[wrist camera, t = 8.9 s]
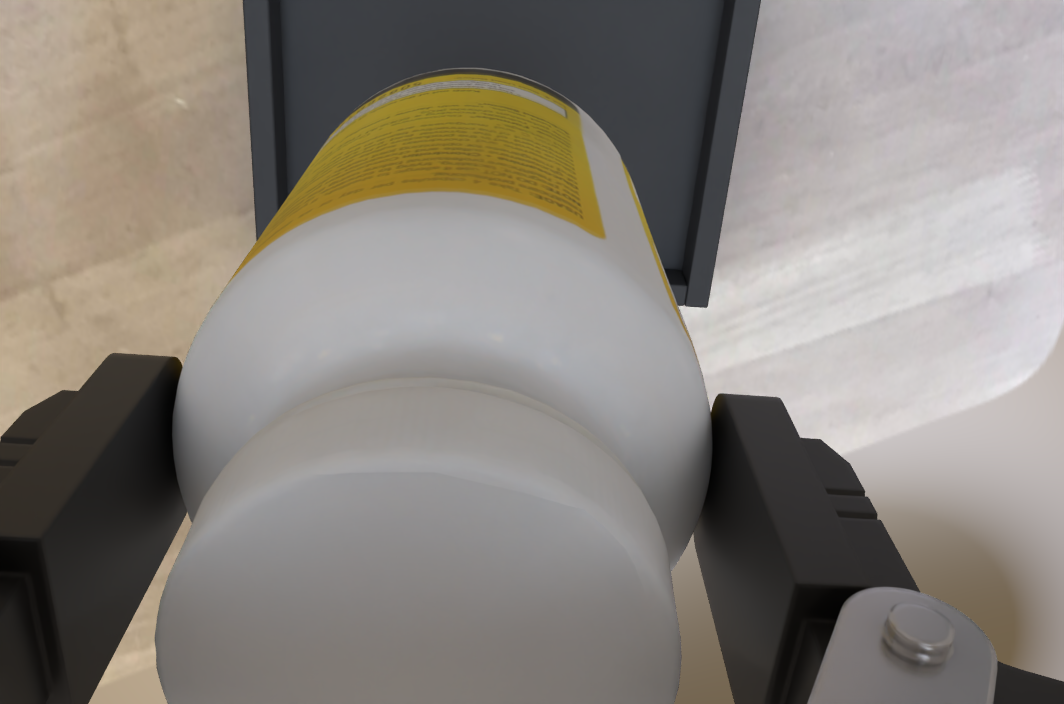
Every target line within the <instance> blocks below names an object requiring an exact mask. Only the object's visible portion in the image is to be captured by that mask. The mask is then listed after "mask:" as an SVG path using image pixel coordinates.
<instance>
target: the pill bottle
mask: <svg viewBox="0 0 1064 704" xmlns="http://www.w3.org/2000/svg"><path fill="white" fill-rule="evenodd" d="M172 442H173V456H174V463H175V469H176V475H177V480H178V484H179V488H180V491H181V495H182V498H183V501H184V503H185V506H186V509H187V512H188V514H189V517H190V520H191V522H192V525H191V528H190V530H189V532H188V535H187V537H186V539H185V542H184V544H183V546H182V548H181V550H180V552H179V554H178V557H177V559H176V561H175V563H174V565H173V567H172V570H171V572H170V574H169V576H168V579H167V582H166V585H165V588H164V591H163V594H162V597H161V600H160V606H159V611H158V616H157V624H156V631H155V646H156V662H157V671H158V675H159V678H160V682H161V686H162V689H163V692H164V694H165V697H166V700H167V703H168V704H674V702H675V698H676V695H677V691H678V688H679V679H680V669H681V637H680V631H679V624H678V618H677V612H676V605H675V599H674V592H673V584H672V577H671V571H672V569H673V568H674V567H675V565H676V564H677V562H678V560H679V559H680V557H681V555H682V554H683V552H684V550H685V549H686V546H687V544H688V542H689V540H690V538H691V536H692V534H693V532H694V529H695V527H696V525H697V523H698V520H699V517H700V514H701V511H702V507H703V504H704V501H705V497H706V494H707V490H708V485H709V479H710V473H711V466H712V422H711V412H710V407H709V401H708V397H707V392H706V388H705V383H704V379H703V375H702V371H701V368H700V365H699V362H698V359H697V356H696V353H695V349H694V346H693V343H692V340H691V338H690V335H689V333H688V330H687V327H686V325H685V322H684V320H683V317H682V315H681V312H680V310H679V307H678V305H677V302H676V299H675V297H674V294H673V292H672V289H671V287H670V284H669V281H668V279H667V276H666V273H665V271H664V268H663V265H662V263H661V260H660V257H659V254H658V252H657V249H656V246H655V244H654V241H653V238H652V235H651V233H650V230H649V227H648V224H647V222H646V219H645V216H644V213H643V210H642V207H641V204H640V201H639V198H638V195H637V192H636V189H635V185H634V183H633V181H632V179H631V176H630V174H629V172H628V169H627V167H626V165H625V163H624V161H623V159H622V157H621V155H620V154H619V152H618V151H617V149H616V148H615V146H614V145H613V143H612V142H611V141H610V139H609V138H608V137H607V135H606V134H605V132H604V131H603V130H602V129H601V128H600V127H599V126H598V125H597V124H596V123H595V122H594V121H593V119H592V118H591V117H590V116H589V115H588V114H586V113H585V112H584V111H583V110H582V109H581V108H579V107H578V106H577V105H576V104H574V103H573V102H571V101H570V100H569V99H567V98H566V97H564V96H563V95H561V94H559V93H558V92H556V91H554V90H552V89H551V88H549V87H547V86H545V85H542V84H540V83H538V82H536V81H533V80H530V79H528V78H525V77H523V76H519V75H516V74H512V73H509V72H503V71H497V70H491V69H484V68H452V69H443V70H438V71H433V72H428V73H424V74H420V75H416V76H413V77H410V78H407V79H405V80H402V81H400V82H398V83H396V84H393V85H391V86H389V87H387V88H385V89H383V90H381V91H379V92H378V93H376V94H375V95H373V96H372V97H370V98H369V99H367V100H366V101H365V102H363V103H362V104H361V105H359V106H358V107H357V108H356V109H355V110H354V111H353V112H351V113H350V114H349V115H348V116H347V117H346V118H345V119H344V120H343V121H342V122H341V123H340V125H339V126H338V127H337V128H336V129H335V131H334V132H333V133H332V134H331V135H330V136H329V138H328V139H327V140H326V141H325V143H324V144H323V145H322V147H321V148H320V150H319V152H318V154H317V155H316V157H315V158H314V160H313V161H312V162H311V164H310V165H309V167H308V168H307V170H306V171H305V173H304V174H303V175H302V177H301V178H300V180H299V181H298V183H297V184H296V186H295V187H294V189H293V190H292V192H291V193H290V194H289V196H288V197H287V199H286V200H285V202H284V203H283V205H282V206H281V207H280V209H279V210H278V212H277V213H276V215H275V216H274V217H273V219H272V220H271V222H270V223H269V225H268V226H267V227H266V229H265V230H264V232H263V233H262V235H261V236H260V238H259V239H258V240H257V242H256V243H255V245H254V246H253V248H252V249H251V251H250V252H249V253H248V255H247V256H246V258H245V259H244V261H243V262H242V264H241V265H240V267H239V268H238V269H237V271H236V272H235V274H234V275H233V277H232V278H231V280H230V281H229V283H228V284H227V285H226V287H225V288H224V290H223V291H222V293H221V294H220V296H219V297H218V298H217V300H216V301H215V303H214V304H213V306H212V307H211V309H210V311H209V312H208V314H207V316H206V318H205V319H204V321H203V323H202V325H201V327H200V328H199V330H198V332H197V334H196V336H195V337H194V340H193V342H192V344H191V347H190V349H189V352H188V354H187V357H186V359H185V362H184V365H183V368H182V371H181V375H180V379H179V382H178V387H177V393H176V398H175V404H174V410H173V422H172Z"/></svg>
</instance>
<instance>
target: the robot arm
mask: <svg viewBox="0 0 1064 704" xmlns="http://www.w3.org/2000/svg"><path fill="white" fill-rule="evenodd" d="M182 368H183V367H182V364H181V362H180V360H179V359H178V358H176V357H168V356H153V355H137V354H122V353H112V354H110V355H109V356H108V357H107V358H106V359H105V360H104V361H103V362H102V364H101V365H100V366H99V367H98V368H97V370H96V371H95V372H94V373H93V374H92V375H91V377H90V378H89V379H88V380H87V381H86V383H85V384H84V385H83V386H82V387H81V388H80V390H79V391H68V390H62V391H60V392H58V393H57V394H55V395H53V396H51V397H49V398H48V399H46V400H44V401H42V402H40V403H39V404H37V405H35V406H33V407H31V408H29V409H28V410H26V411H24V412H23V413H22V414H21V416H20V417H19V418H18V419H17V420H16V421H15V422H14V423H13V424H12V425H11V426H10V428H9V429H8V430H7V431H6V432H5V433H4V434H3V435H2V436H1V441H0V704H88V703H89V701H90V699H91V697H92V695H93V693H94V691H95V690H96V688H97V686H98V684H99V682H100V680H101V678H102V676H103V674H104V672H105V670H106V668H107V666H108V664H109V663H110V661H111V659H112V657H113V655H114V653H115V651H116V649H117V647H118V645H119V643H120V641H121V639H122V637H123V636H124V634H125V632H126V630H127V628H128V626H129V624H130V622H131V620H132V618H133V616H134V614H135V612H136V610H137V609H138V607H139V605H140V603H141V601H142V599H143V597H144V595H145V593H146V591H147V589H148V587H149V585H150V583H151V581H152V580H153V578H154V576H155V574H156V572H157V570H158V568H159V566H160V564H161V562H162V560H163V558H164V556H165V554H166V553H167V551H168V549H169V547H170V545H171V543H172V541H173V539H174V537H175V535H176V533H177V531H178V529H179V527H180V526H181V524H182V522H183V520H184V518H185V515H186V513H187V509H186V506H185V503H184V501H183V498H182V495H181V491H180V488H179V484H178V480H177V475H176V469H175V463H174V456H173V442H172V422H173V410H174V404H175V398H176V393H177V387H178V382H179V379H180V375H181V371H182ZM711 422H712V466H711V473H710V479H709V485H708V490H707V494H706V497H705V501H704V504H703V507H702V511H701V514H700V517H699V520H698V523H697V525H696V527H695V529H694V542H695V548H696V552H697V556H698V560H699V564H700V568H701V572H702V576H703V580H704V584H705V588H706V592H707V596H708V600H709V604H710V608H711V612H712V615H713V619H714V623H715V627H716V631H717V635H718V639H719V643H720V647H721V651H722V655H723V659H724V663H725V667H726V671H727V675H728V678H729V683H730V687H731V691H732V695H733V699H734V702H735V704H1064V682H1063V681H1059V680H1056V679H1052V678H1049V677H1045V676H1041V675H1038V674H1035V673H1031V672H1027V671H1024V670H1021V669H1018V668H1015V667H1012V666H1009V665H1006V664H1003V663H1001V662H999V661H997V656H996V653H995V649H994V648H993V646H992V644H991V642H990V640H989V639H988V638H987V636H986V635H985V633H984V632H983V631H982V630H981V629H980V628H979V627H978V626H977V625H976V624H975V623H974V622H973V621H972V620H971V619H970V618H968V617H967V616H966V615H965V614H963V613H962V612H960V611H959V610H957V609H956V608H954V607H953V606H951V605H949V604H947V603H945V602H943V601H941V600H939V599H937V598H934V597H932V596H929V595H927V594H923V593H920V591H919V589H918V587H917V585H916V583H915V581H914V580H913V578H912V576H911V574H910V572H909V571H908V569H907V567H906V565H905V563H904V561H903V560H902V558H901V556H900V554H899V552H898V550H897V549H896V547H895V545H894V543H893V541H892V540H891V538H890V536H889V534H888V532H887V530H886V529H885V527H884V525H883V523H882V521H881V520H877V513H876V510H875V509H874V507H873V505H872V503H871V501H870V499H869V498H868V497H865V490H864V488H863V487H862V485H861V483H860V481H859V479H858V478H857V476H856V474H855V472H854V470H853V468H852V467H851V465H850V463H848V462H847V461H846V460H844V459H843V458H842V457H841V456H840V455H839V454H838V453H836V452H835V451H834V450H833V449H832V448H830V447H829V446H828V445H827V444H825V443H824V442H823V441H822V440H821V439H809V438H800V437H799V435H798V432H797V430H796V428H795V426H794V424H793V422H792V420H791V418H790V416H789V414H788V412H787V410H786V408H785V406H784V404H783V402H782V400H781V399H780V398H778V397H766V396H751V395H736V394H718V395H717V397H716V399H715V401H714V404H713V407H712V411H711Z"/></svg>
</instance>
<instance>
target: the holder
mask: <svg viewBox="0 0 1064 704" xmlns="http://www.w3.org/2000/svg"><path fill="white" fill-rule="evenodd" d="M760 3H761V0H243V13H244V30H245V48H246V65H247V82H248V100H249V117H250V135H251V152H252V170H253V187H254V204H255V222H256V239H257V240H258V239H259V238H260V236H261V235H262V233H263V232H264V230H265V229H266V227H267V226H268V225H269V223H270V222H271V220H272V219H273V217H274V216H275V215H276V213H277V212H278V210H279V209H280V207H281V206H282V205H283V203H284V202H285V200H286V199H287V197H288V196H289V194H290V193H291V192H292V190H293V189H294V187H295V186H296V184H297V183H298V181H299V180H300V178H301V177H302V175H303V174H304V173H305V171H306V170H307V168H308V167H309V165H310V164H311V162H312V161H313V160H314V158H315V157H316V155H317V154H318V152H319V150H320V148H321V147H322V145H323V144H324V143H325V141H326V140H327V139H328V138H329V136H330V135H331V134H332V133H333V132H334V131H335V129H336V128H337V127H338V126H339V125H340V123H341V122H342V121H343V120H344V119H345V118H346V117H347V116H348V115H349V114H350V113H351V112H353V111H354V110H355V109H356V108H357V107H358V106H359V105H361V104H362V103H363V102H365V101H366V100H367V99H369V98H370V97H372V96H373V95H375V94H376V93H378V92H379V91H381V90H383V89H385V88H387V87H389V86H391V85H393V84H396V83H398V82H400V81H402V80H405V79H407V78H410V77H413V76H416V75H420V74H424V73H428V72H433V71H438V70H443V69H452V68H484V69H491V70H497V71H503V72H509V73H512V74H516V75H519V76H523V77H525V78H528V79H530V80H533V81H536V82H538V83H540V84H542V85H545V86H547V87H549V88H551V89H552V90H554V91H556V92H558V93H559V94H561V95H563V96H564V97H566V98H567V99H569V100H570V101H571V102H573V103H574V104H576V105H577V106H578V107H579V108H581V109H582V110H583V111H584V112H585V113H586V114H588V115H589V116H590V117H591V118H592V119H593V121H594V122H595V123H596V124H597V125H598V126H599V127H600V128H601V129H602V130H603V131H604V132H605V134H606V135H607V137H608V138H609V139H610V141H611V142H612V143H613V145H614V146H615V148H616V149H617V151H618V152H619V154H620V155H621V157H622V159H623V161H624V163H625V165H626V167H627V169H628V172H629V174H630V176H631V179H632V181H633V183H634V185H635V189H636V192H637V195H638V198H639V201H640V204H641V207H642V210H643V213H644V216H645V219H646V222H647V224H648V227H649V230H650V233H651V235H652V238H653V241H654V244H655V246H656V249H657V252H658V254H659V257H660V260H661V263H662V265H663V268H664V271H665V273H666V276H667V279H668V281H669V284H670V287H671V289H672V292H673V294H674V297H675V299H676V302H677V305H679V306H684V304H685V306H689V307H704V308H707V306H708V301H709V295H710V290H711V284H712V278H713V272H714V267H715V261H716V255H717V250H718V244H719V238H720V232H721V227H722V221H723V215H724V209H725V204H726V198H727V192H728V186H729V181H730V175H731V169H732V163H733V158H734V152H735V146H736V140H737V135H738V129H739V123H740V117H741V112H742V106H743V100H744V95H745V89H746V83H747V77H748V72H749V66H750V60H751V54H752V49H753V43H754V37H755V31H756V26H757V20H758V14H759V8H760Z"/></svg>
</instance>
